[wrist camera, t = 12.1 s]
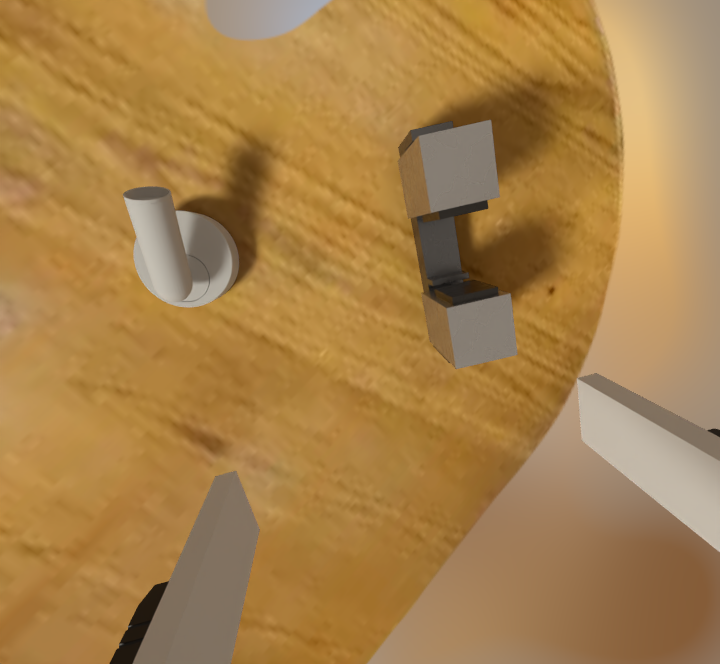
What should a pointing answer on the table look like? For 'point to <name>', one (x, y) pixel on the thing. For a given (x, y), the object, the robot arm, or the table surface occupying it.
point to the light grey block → (470, 322)
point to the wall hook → (180, 250)
